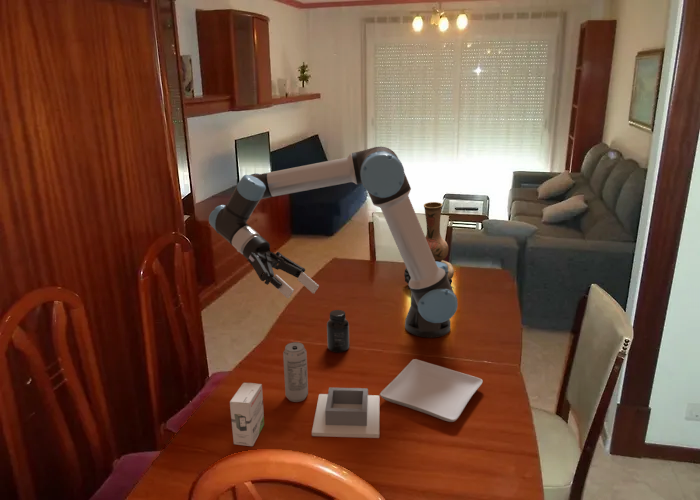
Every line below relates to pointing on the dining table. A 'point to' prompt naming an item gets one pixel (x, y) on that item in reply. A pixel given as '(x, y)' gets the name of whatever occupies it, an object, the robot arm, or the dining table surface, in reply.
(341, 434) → the socket board
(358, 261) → the dining table surface
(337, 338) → the supplement bottle
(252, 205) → the robot arm
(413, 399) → the salad plate
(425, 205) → the vase
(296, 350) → the energy drink can
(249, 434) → the ink box
